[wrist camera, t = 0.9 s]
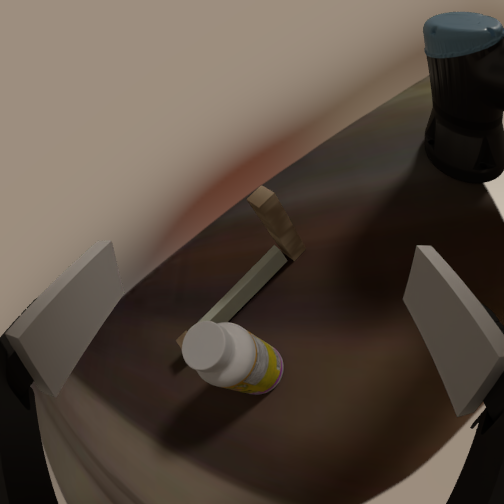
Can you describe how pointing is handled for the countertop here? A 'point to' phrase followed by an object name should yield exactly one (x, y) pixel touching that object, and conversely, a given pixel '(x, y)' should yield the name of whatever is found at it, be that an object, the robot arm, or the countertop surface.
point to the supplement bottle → (232, 357)
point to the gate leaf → (246, 287)
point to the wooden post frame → (273, 226)
